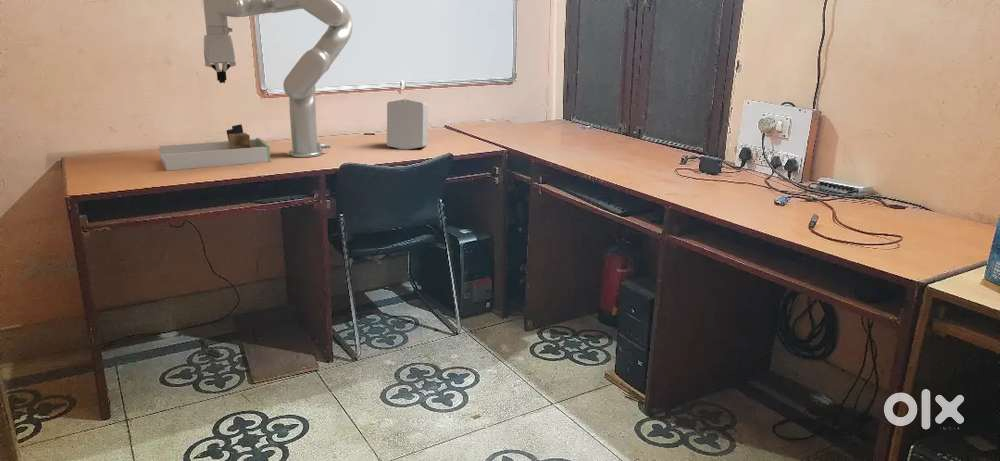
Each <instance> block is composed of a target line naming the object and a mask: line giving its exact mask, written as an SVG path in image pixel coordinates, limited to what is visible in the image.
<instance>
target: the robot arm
mask: <svg viewBox="0 0 1000 461" xmlns="http://www.w3.org/2000/svg"><path fill="white" fill-rule="evenodd" d="M202 3H203V12H204V20H205V22H204V23H205V32H206V34H205V35H204V36H203V58H204V62H205V63H204V67H208V68H212V69H213V70H214V71H215V72H216V78H217V79H216V80H217V81H218V82H219V83H220V84H225V83H226V81H227V71H228V70H229V69H230V68H233V67H236V66H237V65H236V64H237V63H236V57H235V49H234V45H233V39H232V37H231V36H232V35H231V34H230V33H232V32H233V27H229V24H228V22H229V21H228V17H231V18H245V17H250V16H258V15H264V14H271V13H272V14H277V13H283V12H289V11H296V10H302V9H303V10H304V11H305V12H307V13H308V14H310V15H311V16H313V17H315V18H316V19H318V20H319V21H321V22H322V23H323V24H325V25H327V26H328V27H327V29H326V31H325V32H324V33H323V34H322V36H321V37H320V39H318V41H317V42H316V44H315V45H314V46H313V47H312V48H311V49H309V50H307V51H306V52H304V53H303V55H301V57H300V58H299V60H297V62H296V64H294V66H293V67H292V69H290V71H289V72H288V74H286V77H285V78H284V80H283V85H282V86H283V91H284V93H285V94H286V96H288V98H289V100H288V101H289V102H288V103H289V105H288V106H289V119H290V120H289V122H290V135H291V150H288V151H287V153H288V156H289V157H294V158H312V157H318V156H321V155H322V154H323V149H331V143H330V142H329V143H328V142H327V143H325V142H324V143H323V142H322V143H321V142H319V141H318V130H317V129H318V128H317V113H316V111H317V109H316V108H317V107H316V85H317V83H318V82H319V80H320V79H321V78H322V76H324V74H325V73H326V72H328V70H329V69H330V67H331V66H332V64H333V63H334V61H335V60H337V58H338V56H339V55H340V53H341V52H342V50H343V49H344V48H345V46H346V45H347V44H348V42H349V40H350V39H351V36H352V33H353V19H352V16H351V14H350V12H349V9H348V7H346V5H345V4H344V3H342V2H340V1H335V0H203V1H202ZM229 34H230V35H229ZM220 64H221V69H220V66H219V65H220Z"/></svg>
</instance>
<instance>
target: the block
mask: <svg viewBox="0 0 1000 461" xmlns="http://www.w3.org/2000/svg"><path fill="white" fill-rule="evenodd" d="M250 140H251V139H250V134H248V133H246V132H243V133H236V134H229V145H230V149H242V148H250Z"/></svg>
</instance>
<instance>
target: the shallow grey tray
mask: <svg viewBox="0 0 1000 461" xmlns="http://www.w3.org/2000/svg"><path fill="white" fill-rule="evenodd" d="M158 147H159V155H160V162H161V163H162V165H163V167H164V169H165V170H166V171H176V170H177V171H179V170H189V169H200V168H201V169H202V168H212V167H213V168H214V167H224V166H236V165H248V164H250V165H251V164H259V163H260V164H261V163H271V153H270V152H271V149H270V145H269V144H268V143H266V142H265V141H264V140H262V139H261V138H260V137H255V138H254V139H253V138H251V139H250V148H242V149H230V145H229V141H228V140H227V141H226V140H225V141H213V142H212V141H210V142H198V143H197V142H196V143H195V142H194V143H183V144H166V145H158Z"/></svg>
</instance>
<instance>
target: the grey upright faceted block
mask: <svg viewBox="0 0 1000 461" xmlns="http://www.w3.org/2000/svg"><path fill="white" fill-rule="evenodd" d="M428 112H429V111H428V104H427V103H426V102H425V103H424V102H419V101H416V100H410V99H406V98H405V99H399V100H392V101H387V103H386V145H387V147H389V148H390V147H391V148H395V149H400V150H411V149H418V148H424V147H427V144H428V116H429V115H428Z"/></svg>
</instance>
